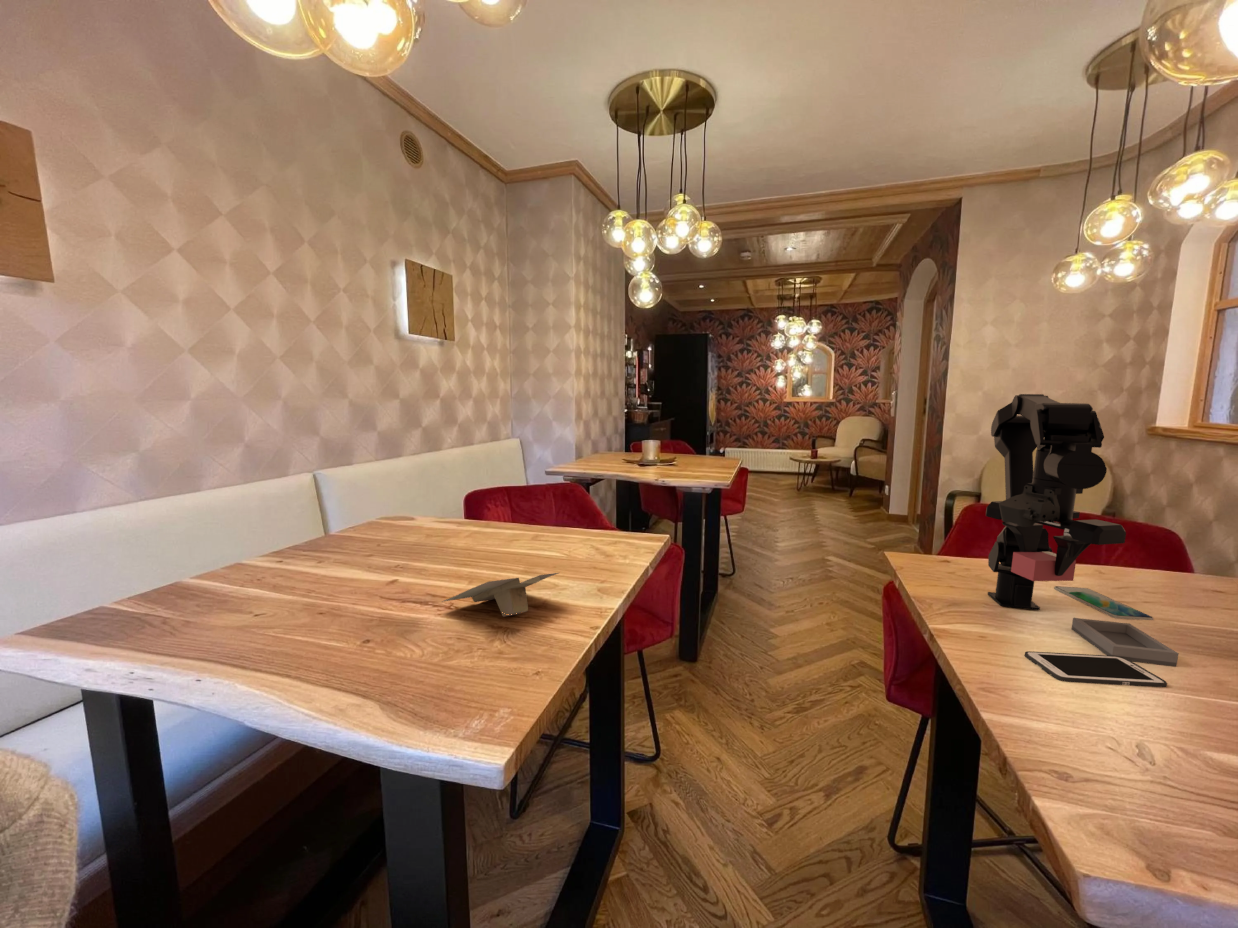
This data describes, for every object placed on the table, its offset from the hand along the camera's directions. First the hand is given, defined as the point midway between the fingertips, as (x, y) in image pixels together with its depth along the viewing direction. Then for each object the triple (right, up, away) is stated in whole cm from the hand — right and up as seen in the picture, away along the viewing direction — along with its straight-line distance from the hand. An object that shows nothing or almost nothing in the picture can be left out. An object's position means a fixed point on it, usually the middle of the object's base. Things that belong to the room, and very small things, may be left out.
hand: (1042, 570), depth 87 cm
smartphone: (+23, -10, +15) cm, 29 cm away
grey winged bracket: (-93, -9, +7) cm, 94 cm away
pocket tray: (+10, -12, -3) cm, 16 cm away
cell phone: (-2, -13, -11) cm, 17 cm away
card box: (0, -1, 0) cm, 1 cm away
